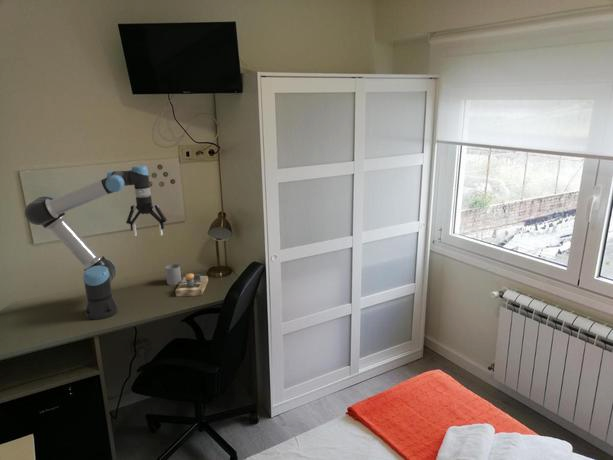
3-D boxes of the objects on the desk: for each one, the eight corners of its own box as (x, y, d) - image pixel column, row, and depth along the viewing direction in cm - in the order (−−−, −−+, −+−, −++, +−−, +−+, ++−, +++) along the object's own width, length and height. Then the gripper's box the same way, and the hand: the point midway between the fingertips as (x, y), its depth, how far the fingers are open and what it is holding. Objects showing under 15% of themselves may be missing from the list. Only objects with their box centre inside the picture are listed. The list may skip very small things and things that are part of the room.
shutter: (181, 283, 257) (180, 277, 256) (184, 278, 264) (183, 273, 263) (202, 282, 257) (202, 276, 256) (205, 277, 264) (204, 272, 263)
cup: (167, 280, 271) (165, 264, 269) (181, 278, 274) (179, 263, 271) (167, 285, 264) (165, 269, 261) (181, 283, 266) (180, 267, 263)
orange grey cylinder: (186, 293, 252) (184, 276, 250) (188, 289, 257) (186, 273, 254) (194, 293, 252) (192, 276, 249) (196, 289, 257) (194, 273, 254)
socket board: (176, 296, 249) (175, 290, 248) (184, 282, 268) (183, 276, 267) (201, 295, 249) (201, 289, 248) (208, 281, 268) (207, 276, 267)
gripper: (116, 198, 230) (121, 238, 236) (165, 196, 231) (170, 236, 236) (121, 195, 237) (126, 234, 243) (169, 193, 238) (174, 232, 244)
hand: (148, 235), depth 240 cm, fingers open, 13 cm apart
